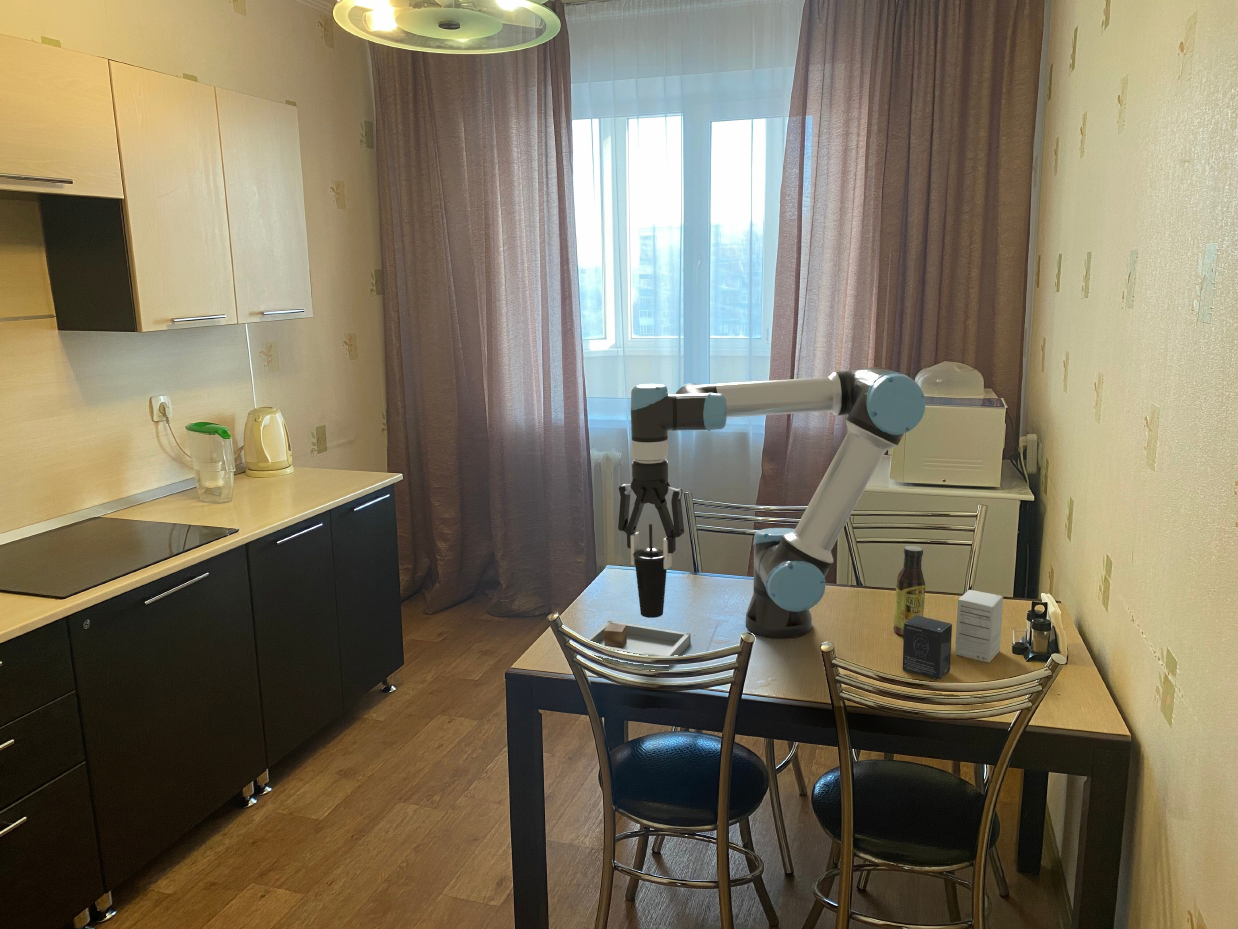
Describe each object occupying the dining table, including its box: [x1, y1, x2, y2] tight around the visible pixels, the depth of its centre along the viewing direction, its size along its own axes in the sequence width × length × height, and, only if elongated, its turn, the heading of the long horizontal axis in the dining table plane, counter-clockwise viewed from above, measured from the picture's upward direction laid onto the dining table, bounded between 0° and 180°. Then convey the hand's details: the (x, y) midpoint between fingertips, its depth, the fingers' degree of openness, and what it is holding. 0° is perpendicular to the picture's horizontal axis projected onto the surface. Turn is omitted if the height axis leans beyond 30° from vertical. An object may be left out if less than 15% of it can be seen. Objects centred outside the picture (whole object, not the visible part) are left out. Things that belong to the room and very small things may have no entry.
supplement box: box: [954, 589, 1004, 663], centre depth 191 cm, size 7×7×13 cm
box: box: [902, 615, 953, 681], centre depth 183 cm, size 8×6×11 cm
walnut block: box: [604, 624, 627, 649], centre depth 199 cm, size 4×4×4 cm
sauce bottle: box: [893, 545, 927, 636], centre depth 201 cm, size 7×6×20 cm
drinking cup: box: [633, 523, 668, 619], centre depth 192 cm, size 8×8×20 cm
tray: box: [586, 620, 692, 669], centre depth 197 cm, size 20×14×3 cm
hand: (651, 564), depth 191 cm, fingers closed on drinking cup, 7 cm apart
